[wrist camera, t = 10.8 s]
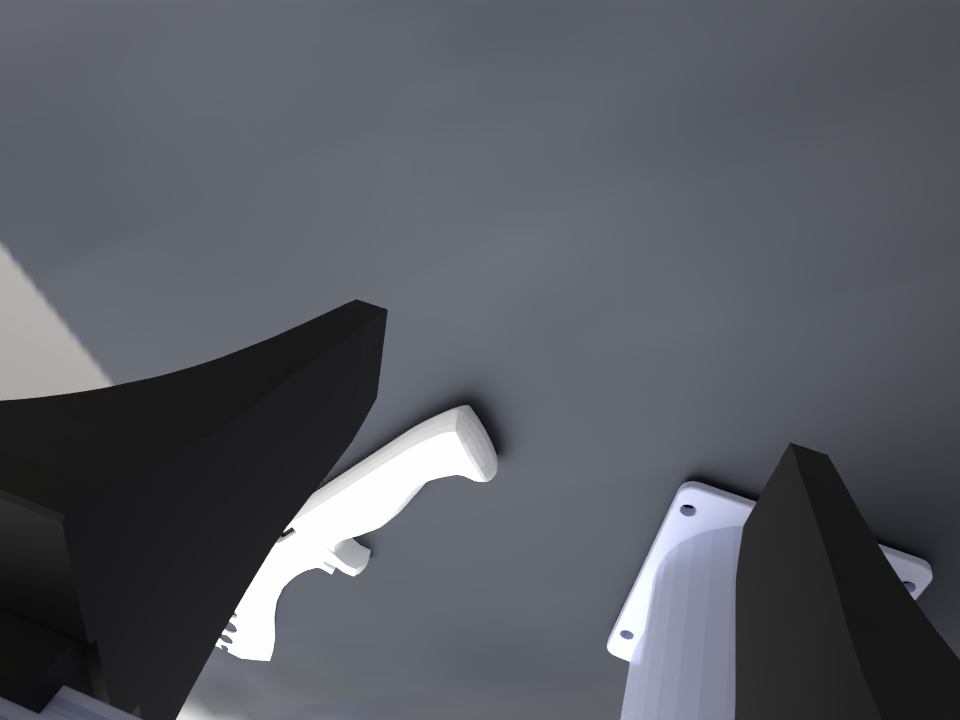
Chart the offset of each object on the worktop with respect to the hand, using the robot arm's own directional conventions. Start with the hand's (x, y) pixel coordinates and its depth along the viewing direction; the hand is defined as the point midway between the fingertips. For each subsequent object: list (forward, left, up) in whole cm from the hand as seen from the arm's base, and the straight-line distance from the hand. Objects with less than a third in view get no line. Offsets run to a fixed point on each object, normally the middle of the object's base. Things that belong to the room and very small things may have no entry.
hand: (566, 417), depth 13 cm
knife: (-22, +9, -10) cm, 26 cm away
